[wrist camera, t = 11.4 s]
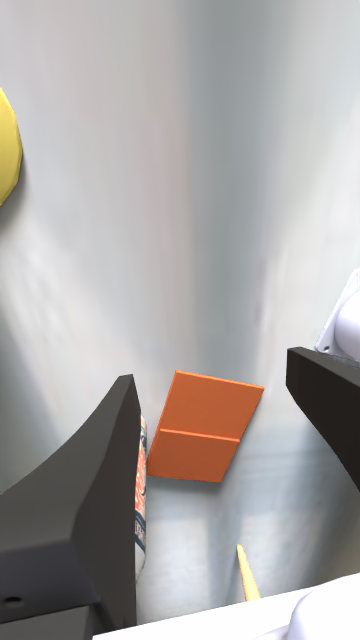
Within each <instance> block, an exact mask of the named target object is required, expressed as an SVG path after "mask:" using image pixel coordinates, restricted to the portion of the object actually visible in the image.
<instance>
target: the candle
mask: <svg viewBox="0 0 360 640" xmlns="http://www.w3.org/2000/svg"><path fill="white" fill-rule="evenodd" d="M22 152H23V150H22V145H21V140H20V135H19V131H18V126H17V121H16V116H15V112H14V111H13V109H12V107H11V105H10V103H9V102H8V100H7V98H6V96H5V95H4V93H3V91H2V89H1V88H0V206H1V205H2V204H3V203H4V201H5V200H6V198H7V197H8V196H9V194H10V193H11V191H12V190H13V188H14V187H15V186H16V184H17V183H18V177H19V170H20V164H21V158H22Z"/></svg>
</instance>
